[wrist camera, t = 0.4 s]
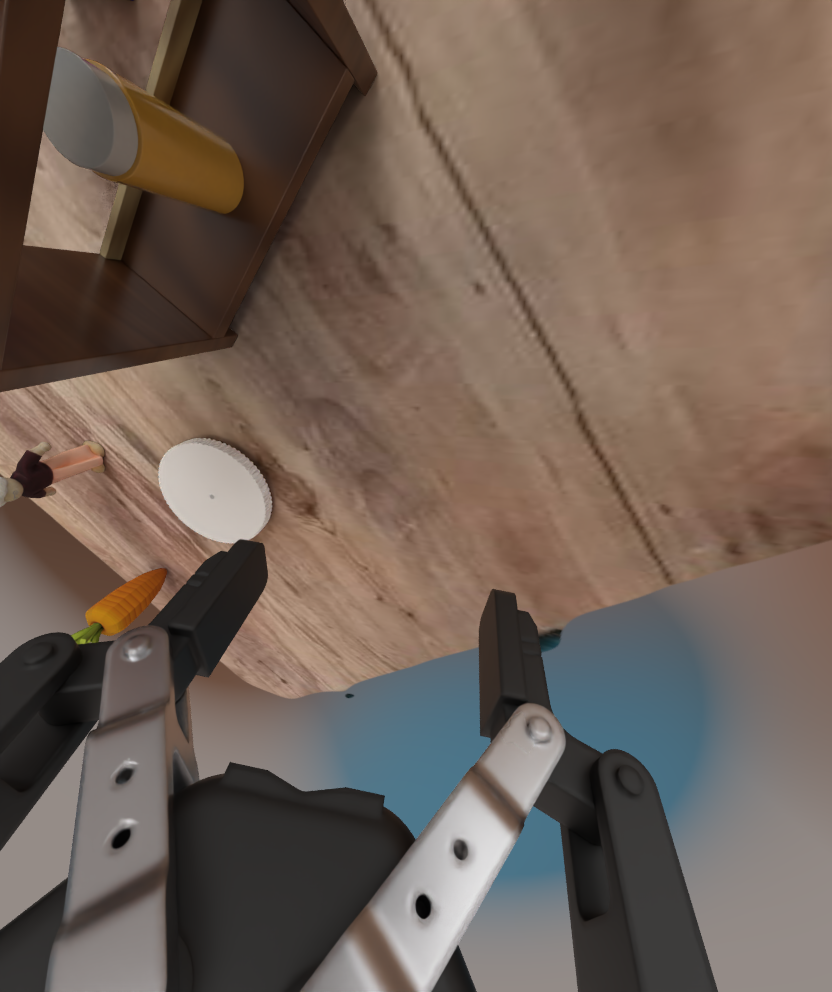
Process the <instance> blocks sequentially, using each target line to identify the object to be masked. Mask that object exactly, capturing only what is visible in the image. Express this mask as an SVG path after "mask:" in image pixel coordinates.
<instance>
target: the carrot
mask: <svg viewBox="0 0 832 992" xmlns="http://www.w3.org/2000/svg"><path fill="white" fill-rule="evenodd" d="M166 575H167V570H166V569H165V568H160V569H156V570H152V571H149V572H147V573H144V574H142V575H140V576H138V577H136V578H135V579H133V580H131V581H129V582H127V583H126V584H124V585H122V586H121V587H119V588H118V589H116V590H114V591H113V592H111V593H110V594H109V595H107V596H106V597H105V598H103V599H102V600H100V601H99V602H98V603H96V604H95V605H94V606H92V607H91V608H90V609H89V610H88V611H87V612H86V619H87V622H88V625H89V626H90V627H88V628H86V629H83V630H81V631H79V632H77V633H75V634H73V635H71V636H72V637H73V638H74V640H75V641H76V643H77V644H86V643H90V642H92V643H96V642H98V641H99V637H100V634H104V635H107V636H112V635H114V634H116V633H119V632H120V631H122V630H124V629H125V628H126V627H127V626H128V625H129V624H130V623H131V622H133V620H135V618H137V617H138V616H139V614H141V612H143V610H144V609H146V608H147V607H148V605H149V604H150V603H151V601H152V600H153V599H154V598H155V596H156V595H157V594H158V592H159V591H160V589H161V587H162V585H163V583H164V581H165V578H166Z"/></svg>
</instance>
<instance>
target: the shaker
mask: <svg viewBox="0 0 832 992" xmlns="http://www.w3.org/2000/svg"><path fill="white" fill-rule="evenodd" d="M43 130H44V132H45V134H46V135H47V137H48V138H49V140H50V141H51V143H52V144H53V145H54V147H55V148H56V149H57V150H58V151H59V152H60V153H61V154H62V155H63V156H64V157H65V158H67V159H68V160H69V161H71V162H72V163H74V164H75V165H78V166H80V167H83V168H86V169H89V170H92V171H93V172H94V173H96V174H97V175H99V176H100V177H102V178H104V179H107V180H110V181H113V182H116V183H120V184H123V185H126V186H129V187H132V188H136V189H139V190H142V191H145V192H148V193H152V194H155V195H158V196H161V197H165V198H168V199H171V200H174V201H177V202H181V203H184V204H187V205H190V206H193V207H197V208H200V209H203V210H206V211H209V212H213V213H216V214H226V213H229V212H231V211H233V210H234V209H235V208H236V207H237V206H238V204H239V202H240V201H241V198H242V195H243V190H244V176H243V170H242V167H241V164H240V161H239V159H238V156H237V154H236V153H235V151H234V149H233V148H232V147H231V145H230V144H229V143H228V142H227V141H226V140H225V139H224V138H222V137H221V136H219V135H218V134H216V133H214V132H213V131H211V130H209V129H208V128H206V127H205V126H203V125H201V124H200V123H198V122H196V121H195V120H193V119H191V118H190V117H188V116H186V115H185V114H183V113H181V112H180V111H178V110H177V109H175V108H173V107H172V106H170V105H168V104H167V103H165V102H163V101H162V100H160V99H158V98H157V97H155V96H153V95H152V94H150V93H149V92H147V91H145V90H144V89H142V88H140V87H139V86H137V85H135V84H134V83H132V82H130V81H129V80H127V79H126V78H124V77H122V76H121V75H119V74H117V73H116V72H114V71H112V70H111V69H109V68H107V67H106V66H104V65H102V64H101V63H99V62H97V61H94V60H91V59H83V58H82V57H80V56H78V55H77V54H75V53H73V52H72V51H69V50H67V49H65V48H61V47H57V52H56V57H55V63H54V69H53V75H52V80H51V86H50V92H49V98H48V103H47V109H46V115H45V121H44V126H43Z"/></svg>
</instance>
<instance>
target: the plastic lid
mask: <svg viewBox="0 0 832 992" xmlns="http://www.w3.org/2000/svg"><path fill="white" fill-rule="evenodd" d="M164 455H165V456H163V457H162V460H161V461H160V462H161V463H160V464H159V466H160V467H159V468H158V469H159V471H158V474H159V476H158V478H159V480H158V481H159V482H160V484H159V486H160V487H161V489H160V490H161V491H162V492H163V493H162V495H163V496H164V499H165V500H166V501H167V502H166V503H167V504H169V507H170V508H171V509H172V511H173V512H174V513H175V515H176V516H178V517H179V519H180V520H182V522H183V523H185V524H186V526H189V527H190V529H193V530H194V532H198V534H200V535H203V537H207V538H208V539H212V540H213V541H214V540H216V541H217V542H219V541H220V542H221V543H223V542H225V543H229V544H231V543H234V544H235V543H236V542H237V541H238V540H239V539H244V540H250V539H251V538H253V537H254V536H256V535H257V534H258V533H259V532H260V531H261V530H262V529H263V528H264V527H265V526H266V524H267V522H268V521H269V519H270V515H271V511H272V509H271V508H272V505H271V504H272V501H271V499H272V497H271V496H270V495H271V492H269V490H270V489H269V488H268V487H267V486H268V484H267V483H266V482H265V481H266V480H265V479H264V478H263V475H262V474H260V470H258V469H257V467H256V465H253V462H252V461H249V458H248V457H247V458H246V457H245V455H244V454H241V453H240V451H239V450H238V451H237V450H236V448H234V447H233V448H232V447H231V446H230V445H226V443H221V441H216V440H214V439H213V440H211V439H209V438H208V439H206V438H203V439H201V438H198V439H196V438H194V439H190V440H187V441H184V442H182V443H180V444H178V445H176V446H174V447H172V448H170V450H168V451H167V453H165V454H164Z"/></svg>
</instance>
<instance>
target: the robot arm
mask: <svg viewBox="0 0 832 992" xmlns="http://www.w3.org/2000/svg"><path fill="white" fill-rule="evenodd" d="M267 579H268V570H267V563H266V555H265V548H264V545H263V543H259V542H254V541H249V540H244V539H239V540H238V541H237V542H236V543H235V544H234V545H233V546H232V548H231V549H230V550H229V551H228V552H224V551H220V552H218V553H217V554H215V555H213V556H212V557H210V558H209V559H207V560H206V561H205V562H204V563H203V564H202V565H201V566H200V567H199V569H198V570H197V571H196V572H195V575H192V576H191V578H190V579H189V580H188V581H187V583H186V585H185V584H184V586H183V587H182V588H181V589H180V590H179V591H178V592H177V593H176V595H175V596H174V597H173V598H172V599H171V600H170V601H169V602H168V604H167V605H166V606H165V607H164V608H163V609H162V610H161V612H160V613H159V614H158V615H157V616H156V617H155V618H154V619H153V621H152V622H151V623H150V624H149V625H147V626H142V627H138V628H135V629H132V630H130V631H128V632H126V633H125V634H123V635H122V636H120V637H119V638H118V639H117V640H115V641H107V642H96V643H86V644H77V643H76V641H75V640H74V638H73V637H72V636H71V635H69V634H66V633H59V632H58V633H49V634H45V635H41V636H39V637H36V638H34V639H31V640H29V641H28V642H26V643H24V644H22V645H21V646H19V647H18V648H17V649H16V650H14V651H13V652H12V653H11V654H10V655H9V656H8V657H7V658H5V659H4V660H3V661H2V662H1V663H0V850H1V849H2V848H3V847H4V845H5V844H6V843H7V841H8V840H9V839H10V837H11V836H12V834H13V833H14V832H15V831H16V829H17V828H18V827H19V825H20V824H21V823H22V821H23V820H24V819H25V817H26V816H27V815H28V813H29V812H30V810H31V809H32V808H33V806H34V805H35V804H36V802H37V801H38V800H39V799H40V797H41V796H42V794H43V793H44V792H45V790H46V789H47V788H48V786H49V785H50V784H51V782H52V781H53V780H54V778H55V777H56V776H57V774H58V773H59V772H60V770H61V769H62V768H63V766H64V765H65V764H66V762H67V761H68V760H69V758H70V757H71V755H72V754H73V753H74V752H75V750H76V749H77V747H78V746H79V745H80V743H81V742H82V741H83V740H84V738H85V737H86V736H87V734H88V733H89V731H90V730H91V729H92V728H93V726H94V725H95V724H96V722H97V721H98V720H99V723H98V726H97V729H95V730H92V731H91V732H90V733H89V734H88V736H87V739H86V743H85V749H84V757H83V764H82V772H81V780H80V788H79V796H78V804H77V812H76V820H75V828H74V835H73V843H72V851H71V859H70V867H69V875H68V878H67V879H65V880H64V881H62V882H61V883H60V884H59V885H57V886H56V887H55V888H53V889H52V890H51V891H50V892H48V893H47V894H46V895H44V896H43V897H42V898H41V899H39V900H38V901H37V902H35V903H34V904H33V905H32V906H30V907H29V908H28V909H27V910H25V911H24V912H23V913H21V914H20V915H19V916H17V917H16V918H15V919H14V920H12V921H11V922H10V923H9V924H7V925H6V926H5V927H3V928H2V929H1V930H0V992H477V991H476V989H475V986H474V984H473V981H472V979H471V976H470V974H469V971H468V968H467V966H466V963H465V961H464V958H463V956H462V953H461V951H460V948H459V946H458V944H459V942H460V940H461V938H462V936H463V935H464V933H465V931H466V930H467V928H468V926H469V924H470V922H471V921H472V919H473V917H474V915H475V914H476V912H477V910H478V908H479V906H480V904H481V903H482V901H483V899H484V898H485V896H486V894H487V892H488V890H489V889H490V887H491V885H492V883H493V881H494V880H495V878H496V876H497V874H498V873H499V871H500V869H501V867H502V866H503V864H504V862H505V860H506V859H507V857H508V855H509V853H510V851H511V850H512V848H513V846H514V844H515V842H516V841H517V839H518V837H519V835H520V833H521V831H522V829H523V827H524V822H525V819H526V817H527V815H528V814H529V812H530V810H531V808H532V806H534V807H536V808H537V809H539V810H541V811H542V812H544V813H545V814H547V815H548V816H550V817H551V818H553V819H555V820H556V821H558V822H559V823H560V827H561V836H562V846H563V854H564V864H565V874H566V883H567V892H568V901H569V911H570V920H571V929H572V939H573V948H574V957H575V967H576V976H577V986H578V992H718V990H717V987H716V983H715V980H714V977H713V973H712V970H711V967H710V963H709V960H708V957H707V953H706V950H705V946H704V943H703V940H702V936H701V933H700V930H699V926H698V923H697V920H696V917H695V913H694V910H693V906H692V903H691V900H690V896H689V893H688V890H687V886H686V883H685V880H684V876H683V873H682V870H681V866H680V863H679V859H678V856H677V853H676V849H675V846H674V843H673V839H672V836H671V833H670V830H669V826H668V823H667V819H666V816H665V813H664V809H663V806H662V803H661V799H660V796H659V792H658V789H657V787H656V784H655V782H654V780H653V778H652V776H651V775H650V773H649V772H648V770H647V769H646V768H645V767H644V766H643V765H642V764H641V762H639V761H638V760H637V759H636V758H635V757H633V756H632V755H630V754H629V753H627V752H625V751H622V750H618V749H611V750H608V751H606V752H604V753H603V754H602V753H600V752H599V751H597V750H595V749H593V748H591V747H590V746H588V745H586V744H584V743H582V742H581V741H579V740H577V739H576V738H574V737H573V736H571V735H570V734H569V733H568V732H566V730H565V729H563V727H562V726H561V724H560V722H559V721H558V719H557V718H556V717H555V716H554V714H553V712H552V709H551V705H550V700H549V695H548V689H547V683H546V677H545V671H544V666H543V660H542V657H541V648H540V645H539V636H538V631H537V626H536V624H535V623H534V621H533V619H532V618H531V616H530V614H529V612H525V611H520V610H518V609H517V601H516V595H515V594H514V593H511V592H506V591H501V590H496V589H492V590H491V592H490V595H489V598H488V600H487V603H486V606H485V608H484V611H483V614H482V617H481V621H480V626H479V683H480V736H484V737H489V738H491V744H490V745H489V746H488V748H487V749H486V750H485V752H484V753H483V754H482V756H481V757H480V758H479V760H478V761H477V763H476V764H475V765H474V766H473V767H471V768H470V769H469V771H468V772H467V773H466V774H465V776H464V777H463V778H462V780H461V781H460V782H459V784H458V785H457V786H456V787H455V789H454V790H453V791H452V793H451V794H450V795H449V797H448V798H447V799H446V801H445V802H444V803H443V805H442V806H441V807H440V809H439V810H438V811H437V813H436V814H435V815H434V817H433V818H432V819H431V821H430V822H429V823H428V825H427V826H426V827H425V829H424V830H423V831H422V832H421V834H420V835H419V837H418V838H417V839H416V840H415V838H414V836H413V835H412V833H411V832H410V830H409V829H408V827H407V826H406V825H405V824H404V823H403V822H402V821H401V819H400V818H399V817H397V816H396V815H395V814H394V813H393V812H391V811H390V810H388V809H387V808H385V807H384V806H383V804H384V797H385V796H384V795H379V794H375V793H370V792H365V791H360V790H356V789H352V788H346V787H345V788H336V789H327V790H318V791H308V792H304V791H301V790H299V789H297V788H295V787H294V786H292V785H291V784H289V783H287V782H286V781H284V780H282V779H281V778H279V777H278V776H276V775H274V774H273V773H271V772H270V771H268V770H264V769H259V768H255V767H250V766H245V765H241V764H236V763H231V762H230V763H229V765H228V767H227V769H226V772H225V774H219V775H215V776H211V777H208V778H205V779H202V780H200V781H199V773H198V767H197V762H196V758H195V753H194V748H193V747H194V746H193V734H192V721H191V706H190V693H189V687H188V686H189V684H190V683H191V681H192V680H193V678H194V677H195V675H200V676H204V677H209V676H210V675H211V673H212V671H213V670H214V668H215V667H216V665H217V664H218V662H219V660H220V659H221V657H222V656H223V654H224V653H225V651H226V649H227V648H228V646H229V645H230V643H231V641H232V640H233V638H234V637H235V635H236V633H237V632H238V630H239V629H240V627H241V626H242V624H243V622H244V621H245V619H246V618H247V616H248V614H249V613H250V611H251V610H252V608H253V606H254V605H255V603H256V602H257V600H258V599H259V597H260V595H261V594H262V592H263V590H264V588H265V586H266V583H267Z"/></svg>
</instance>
